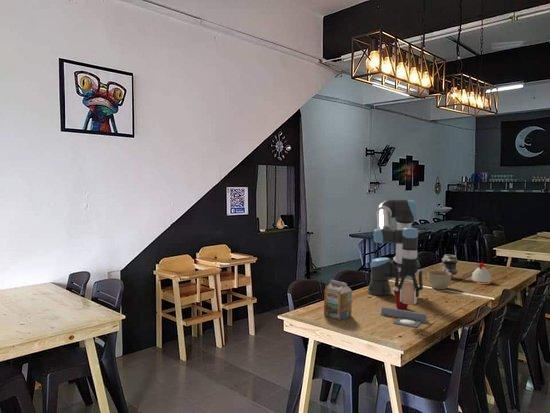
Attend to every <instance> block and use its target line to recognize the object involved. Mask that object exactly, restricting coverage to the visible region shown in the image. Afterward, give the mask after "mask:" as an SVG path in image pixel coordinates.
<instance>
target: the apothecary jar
mask: <svg viewBox="0 0 550 413" xmlns="http://www.w3.org/2000/svg"><path fill="white" fill-rule="evenodd" d="M441 262H442V268H441V269H440V271H445V272H449V273H451V274H452V275H451V280H456V279H455V278H456V277H454V276H456V275H457V273H458V269H457V263H459V260H458V258H457V256H456V254H455V255H454V254H444V255H443V257H442V258H441Z"/></svg>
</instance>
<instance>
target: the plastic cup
mask: <svg viewBox="0 0 550 413" xmlns="http://www.w3.org/2000/svg"><path fill="white" fill-rule="evenodd" d="M401 288H402V287H401ZM392 290H393V292H394V293H393V294H394V300H395V304H396V309H399V310H405V311H406V310H407V309H408V306H409V304H404V303H402V301H400V294H398V288H397V287H395V286H394V287H393V288H392Z"/></svg>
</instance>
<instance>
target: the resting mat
mask: <svg viewBox="0 0 550 413" xmlns="http://www.w3.org/2000/svg"><path fill="white" fill-rule="evenodd" d="M422 323H423V322H422V321H417V320H412V319H406V318H400V317H397V319H395V320H394V321H393V322H392V324H395V325H399V326H400V325H401V326H405V327H410V328H416V329H417V328H418V327H419V326H420V325H421V324H422Z"/></svg>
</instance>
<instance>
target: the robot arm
mask: <svg viewBox="0 0 550 413" xmlns="http://www.w3.org/2000/svg"><path fill="white" fill-rule="evenodd" d="M417 210H418V209H417V204H416V201H415V200H414V199H386V200H384V201H382V202H381V203H379V204H378V205H377V206H376V208H375V217H376V219H377V220H376V224H377V225H376V226H377V227H376V229H374V230H373V242H374V243H379V244H395V245H396V246H395V248H396V249H395V255H394V257H392V258H393V259H392V260H391V259H390V258H389V257H378V258H377V257H376V258H374V259H372V260H371V265H370V267H371V269H370V270H371V272H370V283H369V285H368V288H367V293H368V294H370V295H372V296H373V295H374V296H379V297H381V296H382V297H384V296H391V295H392V288H391V285H390V279H395V281H394V288H395V287H397V288H398V294H400V301H402V288H401V287H402V283H403V282H405V280H411V279H412V283H414V286H415V291H414V304H413V305H415V304H417V302H418V300H417V299H418V298H419V296H420V291H422V290H423V289H424V286H423V285H424V284H423V273H424V270H422V269H421V270H420V269H418V259H417V258H418V242H419V241H418V240H419V229H418V228H417V227H416V228H415V227H412V224H413V223H415V220H416V219H418V212H417ZM391 219H394V221H395V222H396V229H392V224H391ZM416 273H417V275H418V280H417V277H416Z"/></svg>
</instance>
